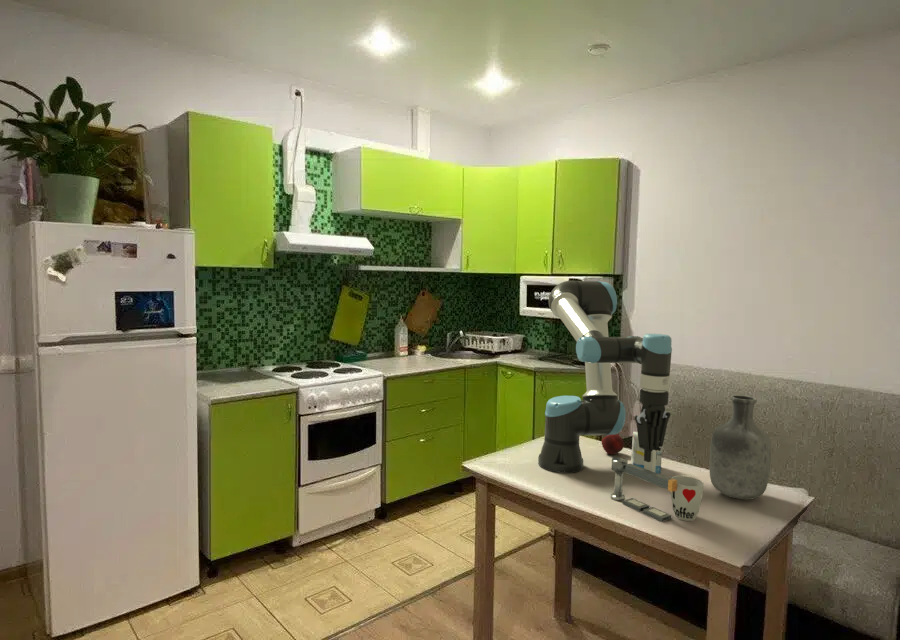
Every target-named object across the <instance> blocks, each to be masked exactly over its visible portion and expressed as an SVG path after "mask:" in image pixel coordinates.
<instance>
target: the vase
mask: <svg viewBox="0 0 900 640" xmlns="http://www.w3.org/2000/svg"><path fill="white" fill-rule="evenodd" d="M730 401H732V414H731V418H730V419H729V420H728V421H727V422H726V423H723V424H722V423H721V424H720V425H718V426H716V427H715V428H714V429H713V431H712V433H711V440H710V449H709V478H710V483H711V485H712V487H714V489H715V490H717V491H719V493H721V494H724V495H725V496H727V497H731V498H733V499H738V500H752V499H756V498H759V497H761V496H762V495H763V494H764V493H765V492H766V490H767V486H768V483H769V479H770V470H771V459H772V457H771V456H772V442H771V437H770V436H769V434H768V433H767V432H765V431H764V430H763V429H761V428H759V427H758V426H757V425H756V423H755V421H754V410H755V404H757V402H758V401H757V398H756V397H753V396H749V395H741V394H740V395H739V394H738V395H737V394H735V395H733V394H732V395H731V396H730Z"/></svg>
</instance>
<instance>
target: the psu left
mask: <svg viewBox="0 0 900 640" xmlns="http://www.w3.org/2000/svg"><path fill="white" fill-rule="evenodd" d="M622 505H624V506H627V507H629V508H630V509H633V510H635V511H637V512H639V513H640V512H641V513H643V510H644V509H647V508H651V507H650V504H647V503H644V502H643V501H640V500H638V499H635V498H634V497H630V498H627V499H625V500H623V501H622Z"/></svg>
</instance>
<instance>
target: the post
mask: <svg viewBox="0 0 900 640" xmlns="http://www.w3.org/2000/svg"><path fill="white" fill-rule="evenodd" d="M614 474H615V475H614V489H613V493H611V494H610V499H611V500H613V501H615V502H623V500H626V496H625V494H623V482H624V480H623V479H624V472H616V471H614Z"/></svg>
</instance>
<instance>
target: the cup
mask: <svg viewBox="0 0 900 640" xmlns="http://www.w3.org/2000/svg"><path fill="white" fill-rule="evenodd" d="M670 478H671V479H675V480H677V491H673V492H671V491H670V495H671V496H670V497H671V505H672V509H673V514H674V516H675V518H677V519H679V520H681V521H684V522H685V521H686V522H693V521H695V519H696V518H697V515H698V514H699V510H700V507H701V502H702V499H703V493H704V487H705V483H704V482H703V481H702V480H700V479H699V478H696V477H692V476H687V475H675V476H672V477H670Z"/></svg>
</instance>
